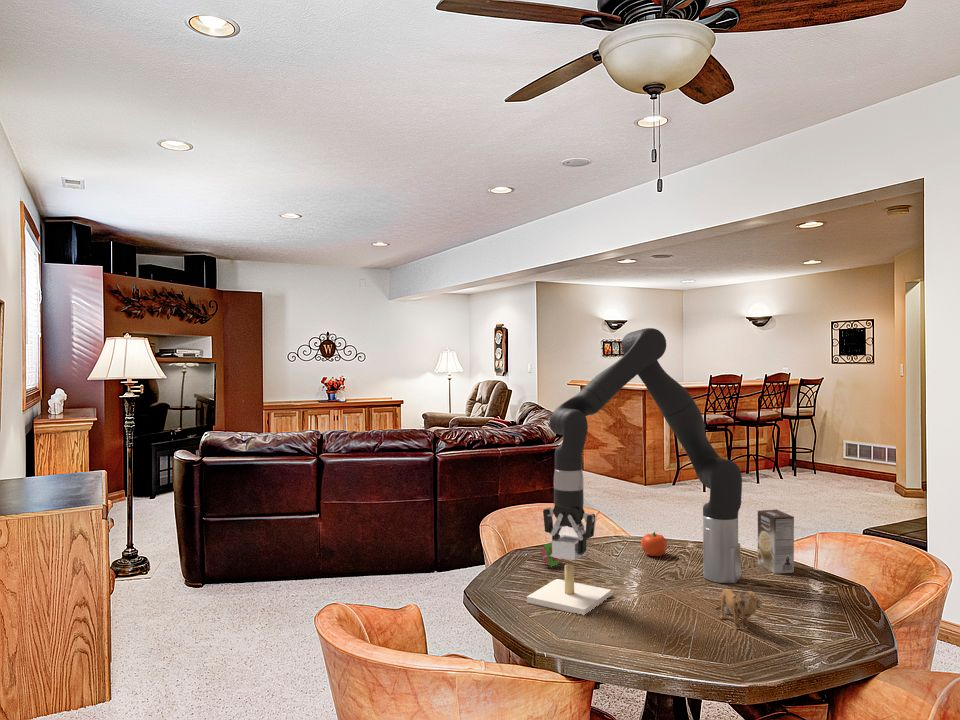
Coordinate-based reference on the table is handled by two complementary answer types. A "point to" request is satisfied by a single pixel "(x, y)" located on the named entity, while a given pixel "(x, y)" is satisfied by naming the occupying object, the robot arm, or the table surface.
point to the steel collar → (566, 547)
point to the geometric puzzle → (549, 555)
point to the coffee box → (776, 541)
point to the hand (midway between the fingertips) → (569, 551)
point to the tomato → (654, 544)
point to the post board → (569, 594)
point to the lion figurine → (739, 605)
